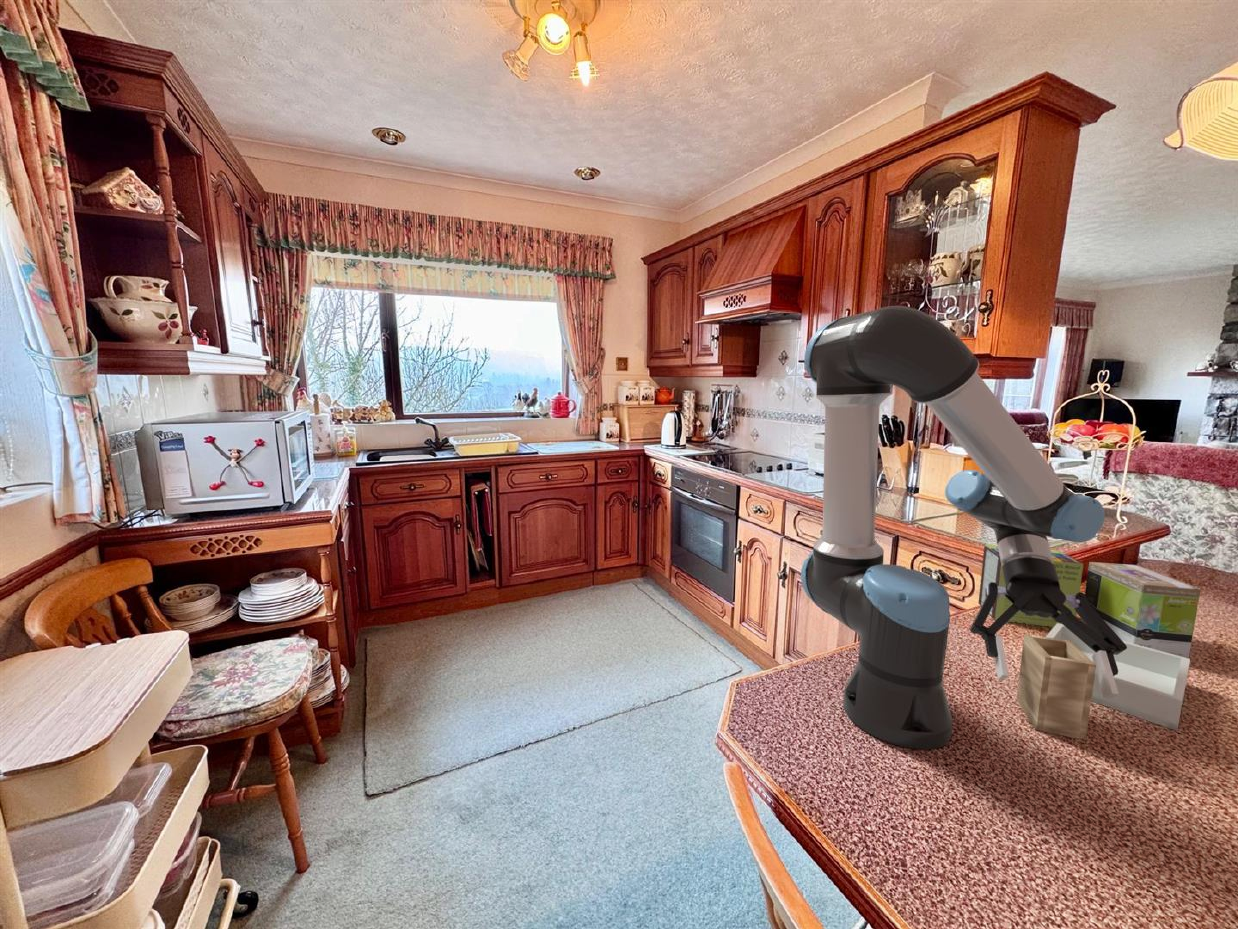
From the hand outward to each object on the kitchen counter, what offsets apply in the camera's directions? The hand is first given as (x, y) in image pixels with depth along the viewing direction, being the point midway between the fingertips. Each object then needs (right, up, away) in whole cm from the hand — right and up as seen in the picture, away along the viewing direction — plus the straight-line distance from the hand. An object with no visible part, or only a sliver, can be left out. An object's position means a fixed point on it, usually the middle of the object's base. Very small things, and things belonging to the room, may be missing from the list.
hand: (1055, 686), depth 77 cm
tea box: (+41, -3, +28) cm, 50 cm away
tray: (+19, -4, +11) cm, 23 cm away
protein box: (+27, -1, +39) cm, 47 cm away
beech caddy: (0, -6, +1) cm, 6 cm away
